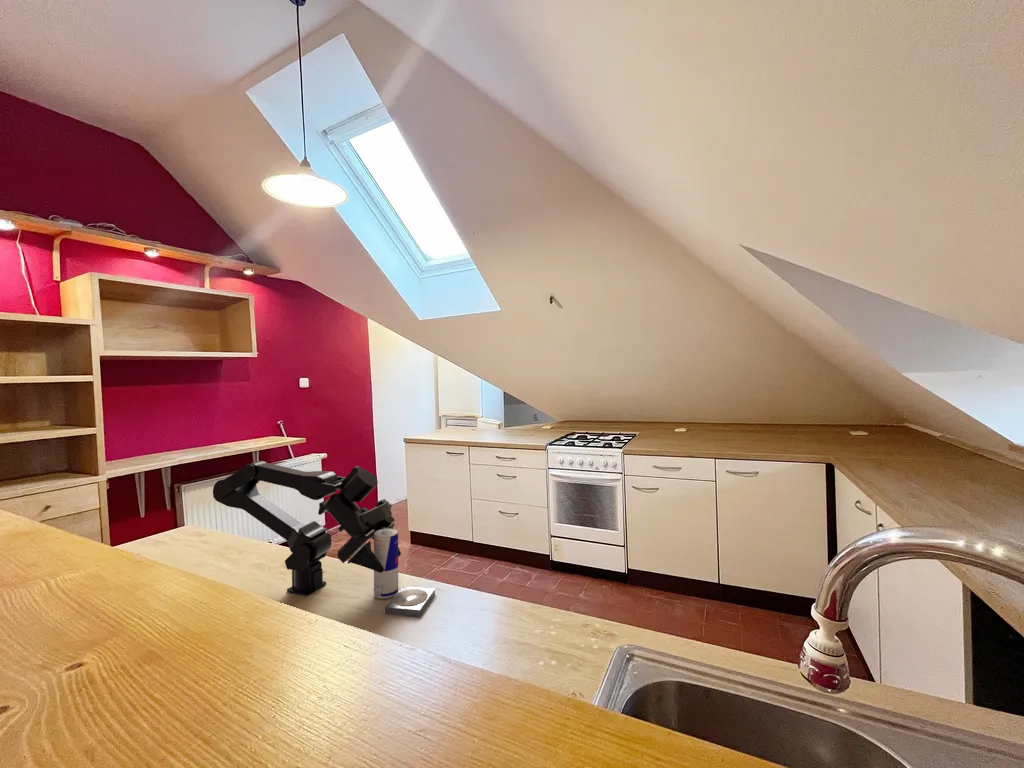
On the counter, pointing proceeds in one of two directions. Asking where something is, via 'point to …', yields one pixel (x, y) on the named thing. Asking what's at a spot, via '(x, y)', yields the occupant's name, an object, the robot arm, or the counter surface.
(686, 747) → the counter surface
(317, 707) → the counter surface
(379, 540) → the beverage can
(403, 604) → the plate
